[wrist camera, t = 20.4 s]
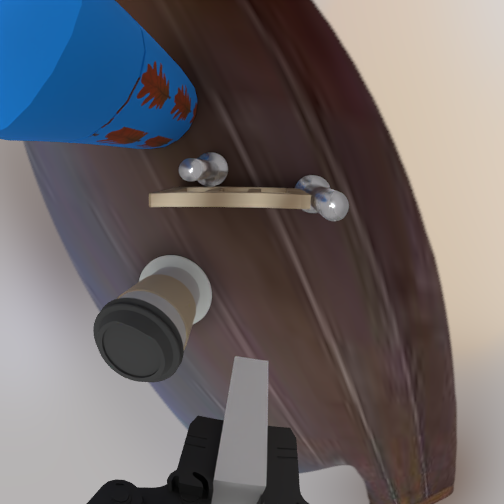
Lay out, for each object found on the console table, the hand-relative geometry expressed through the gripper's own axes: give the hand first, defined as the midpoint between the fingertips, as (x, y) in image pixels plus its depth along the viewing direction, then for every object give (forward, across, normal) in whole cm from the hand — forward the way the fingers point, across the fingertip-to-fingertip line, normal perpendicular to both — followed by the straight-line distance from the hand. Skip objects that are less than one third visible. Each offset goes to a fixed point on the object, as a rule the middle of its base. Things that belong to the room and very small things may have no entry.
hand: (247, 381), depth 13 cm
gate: (+23, -4, +6) cm, 24 cm away
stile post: (+24, -7, +8) cm, 27 cm away
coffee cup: (+24, -10, -8) cm, 27 cm away
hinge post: (+24, +5, +7) cm, 26 cm away
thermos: (+25, -15, +15) cm, 33 cm away
